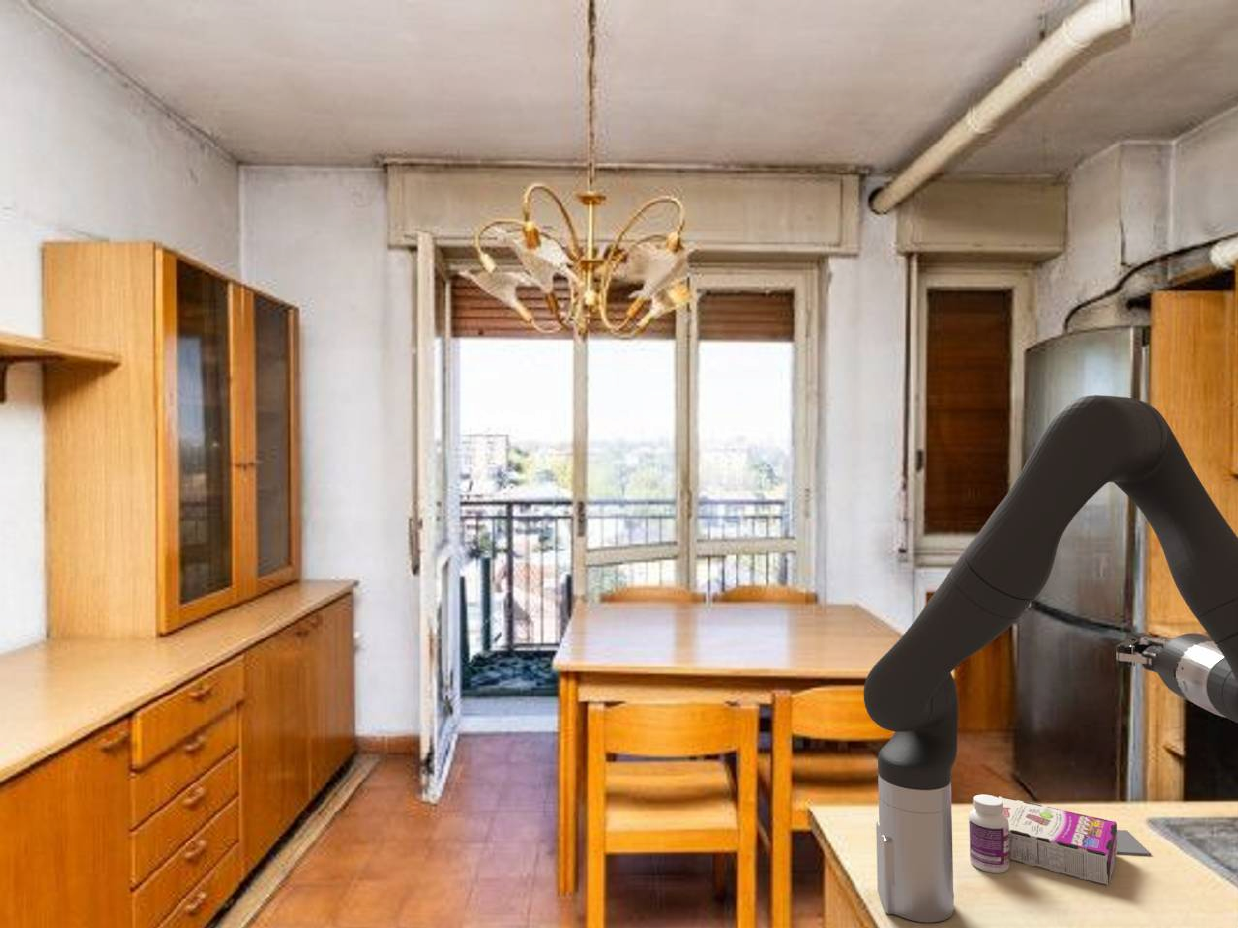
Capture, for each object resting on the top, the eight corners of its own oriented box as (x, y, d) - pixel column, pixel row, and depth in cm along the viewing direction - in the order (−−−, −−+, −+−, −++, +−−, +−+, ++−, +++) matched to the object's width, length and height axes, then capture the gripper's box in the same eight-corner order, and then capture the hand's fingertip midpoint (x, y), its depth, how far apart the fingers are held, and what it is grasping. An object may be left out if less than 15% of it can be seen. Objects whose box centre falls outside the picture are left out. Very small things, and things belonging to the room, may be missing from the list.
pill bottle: (1014, 875, 112) (1012, 808, 112) (975, 872, 113) (973, 806, 113) (1004, 857, 117) (1002, 793, 117) (966, 854, 118) (964, 790, 118)
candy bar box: (1118, 853, 117) (999, 823, 127) (1118, 821, 117) (999, 793, 127) (1109, 889, 108) (982, 854, 119) (1109, 854, 108) (982, 821, 118)
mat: (1072, 851, 119) (1072, 849, 119) (1052, 828, 126) (1052, 826, 126) (1151, 855, 117) (1151, 853, 117) (1126, 832, 124) (1126, 830, 124)
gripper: (1284, 642, 83) (1191, 612, 100) (1149, 640, 85) (1080, 611, 102) (1286, 712, 83) (1192, 670, 100) (1150, 709, 85) (1081, 668, 102)
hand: (1135, 640), depth 101 cm, fingers closed
